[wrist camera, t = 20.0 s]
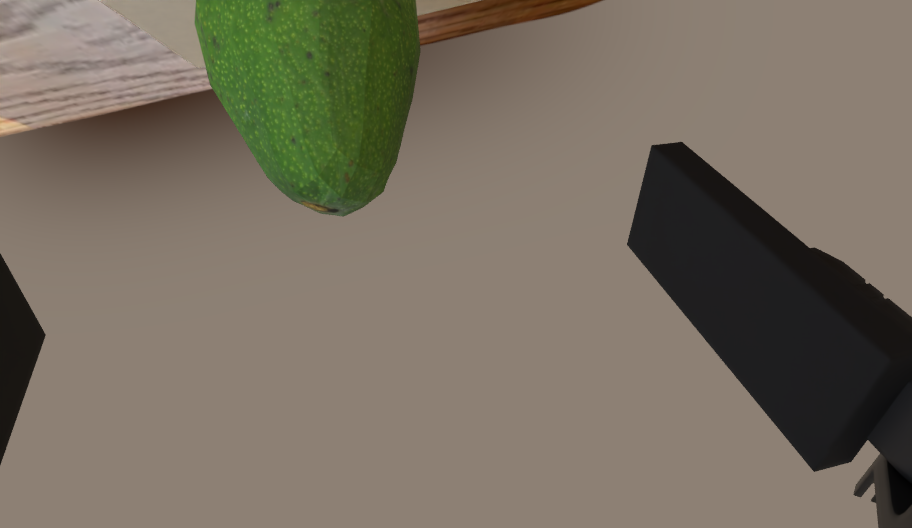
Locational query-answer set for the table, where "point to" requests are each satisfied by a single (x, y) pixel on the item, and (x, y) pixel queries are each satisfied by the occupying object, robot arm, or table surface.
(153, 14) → the corner mat
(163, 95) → the table surface
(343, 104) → the avocado
